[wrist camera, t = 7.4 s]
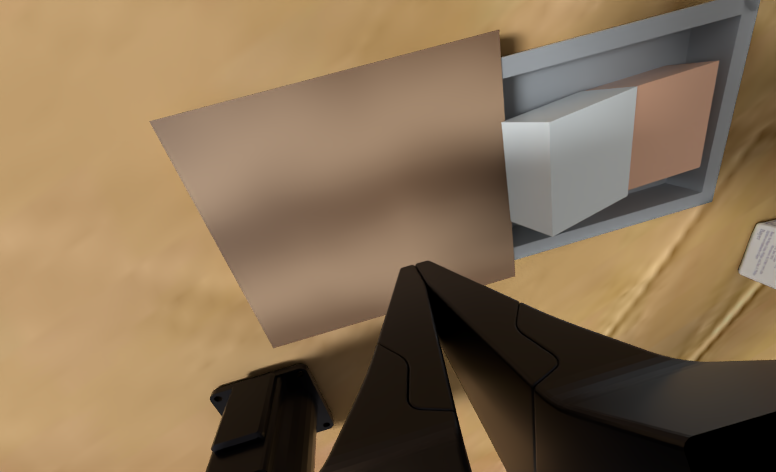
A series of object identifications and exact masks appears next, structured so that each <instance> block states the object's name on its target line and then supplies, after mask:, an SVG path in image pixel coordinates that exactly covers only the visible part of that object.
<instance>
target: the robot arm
mask: <svg viewBox="0 0 776 472" xmlns="http://www.w3.org/2000/svg"><path fill="white" fill-rule="evenodd" d="M440 344H441V345H440ZM441 346H442V348H443V350H444V352H445V354H446V356H447V358H448V360H449V362H450V363H451V365H452V367H453V369H454V371H455V373H456V375H457V377H458V379H459V381H460V383H461V385H462V386H463V388H464V390H465V392H466V394H467V396H468V398H469V400H470V402H471V404H472V406H473V408H474V409H475V411H476V413H477V415H478V417H479V419H480V421H481V423H482V425H483V427H484V429H485V431H486V432H487V434H488V436H489V438H490V440H491V442H492V444H493V446H494V448H495V450H496V452H497V454H498V455H499V457H500V459H501V461H502V463H503V465H504V467H505V469H506V471H507V472H776V360H756V361H723V362H698V361H687V360H681V359H675V358H671V357H666V356H662V355H659V354H656V353H653V352H650V351H647V350H644V349H641V348H638V347H636V346H633V345H630V344H627V343H624V342H622V341H619V340H616V339H613V338H610V337H608V336H605V335H602V334H599V333H596V332H594V331H591V330H588V329H585V328H582V327H580V326H577V325H574V324H572V323H569V322H566V321H564V320H561V319H558V318H556V317H553V316H551V315H549V314H546V313H544V312H542V311H539V310H537V309H535V308H532V307H530V306H528V305H526V304H524V303H520V304H519V301H517V300H515V299H512V298H510V297H508V296H506V295H504V294H501V293H499V292H497V291H495V290H493V289H491V288H488V287H486V286H484V285H482V284H480V283H477V282H475V281H473V280H471V279H469V278H466V277H464V276H462V275H460V274H458V273H455V272H453V271H451V270H449V269H447V268H444V267H442V266H440V265H438V264H436V263H434V262H431V261H429V260H427V261H423V262H420V263H417V264H416V265H415V266H414V265H409V266H406V267H402V268H401V269H400V271H399V274H398V277H397V281H396V284H395V287H394V290H393V294H392V297H391V300H390V303H389V306H388V310H387V313H386V316H385V319H384V323H383V326H382V329H381V332H380V336H379V339H378V342H377V346H376V348H375V351H374V355H373V358H372V361H371V363H370V366H369V369H368V372H367V375H366V377H365V379H364V382H363V384H362V386H361V388H360V391H359V393H358V395H357V397H356V400H355V402H354V404H353V406H352V408H351V410H350V412H349V414H348V417H347V419H346V421H345V423H344V425H343V427H342V429H341V431H340V434H339V436H338V438H337V440H336V442H335V444H334V446H333V448H332V451H331V453H330V455H329V457H328V458H327V460H326V462H325V464H324V465H323V467H322V469H321V470H320V471H319V472H472V470H471V467H470V463H469V460H468V456H467V452H466V449H465V445H464V441H463V437H462V433H461V429H460V425H459V421H458V417H457V413H456V408H455V404H454V400H453V396H452V392H451V387H450V383H449V379H448V375H447V371H446V366H445V362H444V358H443V354H442V350H441ZM299 371H302V372H299ZM210 401H211V402H212V404H213V405H214V406H215V408H216V409H217V410H218V412H219V413H220V414H221V416H222V418H221V421H220V424H219V427H218V430H217V433H216V435H215V438H214V441H213V444H212V447H211V450H212V451H213V452H212V455H211V457H210V460H209V463H208V466H207V469H206V472H314V468H315V450H316V433H317V432H320V431H324V430H327V429H330V428H331V427H332V426H333V416H332V414H331V412H330V410H329V408H328V406H327V404H326V402H325V400H324V398H323V396H322V394H321V392H320V390H319V388H318V386H317V384H316V382H315V380H314V378H313V376H312V374H311V372H310V370H309V368H308V367H307V366H306V365H305V364H297V365H294V366H291V367H287V368H284V369H281V370H277V371H274V372H271V373H267V374H264V375H261V376H257V377H254V378H251V379H247V380H244V381H241V382H237V383H234V384H231V385H228V386H224V387H221V388H218V389H215V390H214V391H213V392H212V394H211V397H210Z"/></svg>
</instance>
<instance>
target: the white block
mask: <svg viewBox="0 0 776 472" xmlns="http://www.w3.org/2000/svg"><path fill="white" fill-rule="evenodd" d="M636 97H637V86H635V87H624V88H612V89H601V90H590V91H581V92H578V93H576V94H573V95H570V96H568V97H565V98H563V99H560V100H557V101H555V102H552V103H550V104H547V105H545V106H542V107H539V108H537V109H534V110H532V111H529V112H526V113H524V114H521V115H519V116H516V117H514V118H511V119H508V120H506V121H503V122H501V124H502V134H503V145H504V155H505V166H506V176H507V187H508V197H509V208H510V218H511V222H514V223H517V224H519V225H522V226H525V227H527V228H530V229H533V230H536V231H538V232H541V233H544V234H546V235H549V236H552V237H553V236H555V235H557V234H559V233H560V232H562V231H564V230H566V229H568V228H570V227H571V226H573V225H575V224H577V223H579V222H581V221H582V220H584V219H586V218H588V217H590V216H592V215H593V214H595V213H597V212H599V211H601V210H603V209H604V208H606V207H608V206H610V205H612V204H614V203H615V202H617V201H619V200H621V199H623V198H625V197H626V196H628V185H629V174H630V163H631V152H632V141H633V130H634V119H635V108H636Z"/></svg>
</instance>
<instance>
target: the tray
mask: <svg viewBox="0 0 776 472" xmlns="http://www.w3.org/2000/svg"><path fill="white" fill-rule="evenodd" d="M759 4H760V0H714V1H710V2H706V3H702V4H698V5H695V6H691V7H687V8H683V9H680V10H676V11H672V12H668V13H665V14H661V15H657V16H653V17H650V18H646V19H642V20H638V21H635V22H631V23H627V24H623V25H620V26H616V27H612V28H608V29H605V30H601V31H597V32H593V33H590V34H586V35H582V36H578V37H575V38H571V39H567V40H563V41H560V42H556V43H552V44H548V45H545V46H541V47H537V48H533V49H530V50H526V51H522V52H518V53H515V54H511V55H507V56H503V57H501V67H502V82H503V98H504V113H505V121H506V120H508V119H511V118H514V117H516V116H519V115H521V114H524V113H526V112H529V111H532V110H534V109H537V108H539V107H542V106H545V105H547V104H550V103H552V102H555V101H557V100H560V99H563V98H565V97H568V96H570V95H573V94H576V93H578V92H581V91H585V90H589V89H592V88H595V87H598V86H602V85H605V84H608V83H611V82H614V81H618V80H621V79H624V78H627V77H630V76H634V75H637V74H640V73H643V72H647V71H650V70H653V69H656V68H659V67H663V66H666V65H677V64H687V63H698V62H708V61H719V65H718V71H717V76H716V82H715V87H714V93H713V98H712V104H711V109H710V115H709V120H708V126H707V131H706V137H705V142H704V148H703V153H702V159H701V164H700V167H699V168H696V169H693V170H689V171H686V172H683V173H680V174H677V175H674V176H671V177H668V178H665V179H661V180H658V181H655V182H652V183H649V184H646V185H643V186H640V187H637V188H633V189H630V190H628V196H626V197H625V198H623V199H621V200H619V201H617V202H615V203H614V204H612V205H610V206H608V207H606V208H604V209H603V210H601V211H599V212H597V213H595V214H593V215H592V216H590V217H588V218H586V219H584V220H582V221H581V222H579V223H577V224H575V225H573V226H571V227H570V228H568V229H566V230H564V231H562V232H560V233H559V234H557V235H555V236H553V237H552V236H549V235H546V234H544V233H541V232H538V231H536V230H533V229H530V228H527V227H525V226H522V225H519V224H517V223H514V222H512V234H513V249H514V260H516V259H520V258H523V257H527V256H530V255H533V254H537V253H540V252H543V251H547V250H550V249H554V248H557V247H560V246H564V245H567V244H570V243H574V242H577V241H581V240H584V239H587V238H591V237H594V236H598V235H601V234H604V233H608V232H611V231H614V230H618V229H621V228H625V227H628V226H631V225H635V224H638V223H641V222H645V221H648V220H652V219H655V218H658V217H662V216H665V215H669V214H672V213H675V212H679V211H682V210H685V209H689V208H692V207H696V206H699V205H702V204H706V203H709V202H712V200H713V195H714V191H715V187H716V183H717V179H718V175H719V170H720V166H721V162H722V158H723V154H724V150H725V145H726V141H727V137H728V133H729V129H730V125H731V120H732V116H733V112H734V108H735V104H736V100H737V95H738V91H739V87H740V83H741V79H742V75H743V70H744V66H745V62H746V58H747V54H748V50H749V45H750V41H751V37H752V33H753V29H754V25H755V20H756V16H757V12H758V8H759Z"/></svg>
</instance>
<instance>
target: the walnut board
mask: <svg viewBox="0 0 776 472" xmlns="http://www.w3.org/2000/svg"><path fill="white" fill-rule="evenodd" d="M503 121H505V113H504V98H503V82H502V67H501V52H500V37H499V30H496V31H492V32H488V33H485V34H481V35H477V36H473V37H469V38H466V39H462V40H458V41H454V42H450V43H446V44H443V45H439V46H435V47H431V48H427V49H424V50H420V51H416V52H412V53H408V54H405V55H401V56H397V57H393V58H389V59H385V60H382V61H378V62H374V63H370V64H366V65H363V66H359V67H355V68H351V69H347V70H344V71H340V72H336V73H332V74H328V75H324V76H321V77H317V78H313V79H309V80H305V81H302V82H298V83H294V84H290V85H286V86H283V87H279V88H275V89H271V90H267V91H264V92H260V93H256V94H252V95H248V96H244V97H241V98H237V99H233V100H229V101H225V102H222V103H218V104H214V105H210V106H206V107H203V108H199V109H195V110H191V111H187V112H183V113H180V114H176V115H172V116H168V117H164V118H161V119H157V120H153V121H149V122H150V123H151V125H152V127H153V129H154V131H155V133H156V134H157V136H158V138H159V140H160V142H161V144H162V145H163V147H164V149H165V151H166V153H167V155H168V156H169V158H170V160H171V162H172V164H173V165H174V167H175V169H176V171H177V173H178V175H179V176H180V178H181V180H182V182H183V184H184V186H185V187H186V189H187V191H188V193H189V195H190V197H191V198H192V200H193V202H194V204H195V206H196V207H197V209H198V211H199V213H200V215H201V217H202V218H203V220H204V222H205V224H206V226H207V228H208V229H209V231H210V233H211V235H212V237H213V239H214V240H215V242H216V244H217V246H218V248H219V250H220V251H221V253H222V255H223V257H224V259H225V260H226V262H227V264H228V266H229V268H230V270H231V271H232V273H233V275H234V277H235V279H236V281H237V282H238V284H239V286H240V288H241V290H242V292H243V293H244V295H245V297H246V299H247V301H248V302H249V304H250V306H251V308H252V310H253V312H254V313H255V315H256V317H257V319H258V321H259V323H260V324H261V326H262V328H263V330H264V332H265V334H266V335H267V337H268V339H269V341H270V343H271V344H272V346H273V348H276V347H279V346H282V345H286V344H289V343H292V342H296V341H299V340H302V339H306V338H309V337H313V336H316V335H319V334H323V333H326V332H329V331H333V330H336V329H339V328H343V327H346V326H349V325H353V324H356V323H360V322H363V321H366V320H370V319H373V318H376V317H380V316H383V315H386V313H387V310H388V306H389V303H390V300H391V297H392V294H393V290H394V287H395V284H396V281H397V277H398V274H399V271H400V269H401V268H402V267H406V266H409V265H414V266H415V265H416V264H417V263H420V262H423V261H427V260H429V261H431V262H434V263H436V264H438V265H440V266H442V267H444V268H447V269H449V270H451V271H453V272H455V273H458V274H460V275H462V276H464V277H466V278H469V279H471V280H473V281H475V282H477V283H480V284H482V285H487V284H490V283H494V282H497V281H500V280H504V279H507V278H510V277H514V276H515V264H514V249H513V234H512V222H511V218H510V208H509V197H508V187H507V176H506V166H505V155H504V145H503V134H502V124H501V122H503Z"/></svg>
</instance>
